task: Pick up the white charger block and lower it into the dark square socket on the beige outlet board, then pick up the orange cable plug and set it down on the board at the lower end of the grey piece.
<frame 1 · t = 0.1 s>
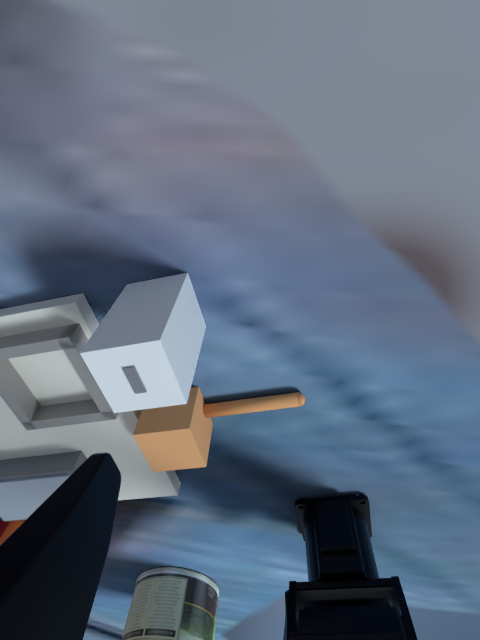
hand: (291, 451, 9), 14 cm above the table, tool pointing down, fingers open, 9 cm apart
paper cup: (12, 525, 40), on the table
coffee can: (177, 584, 46), on the table
grey piece: (46, 478, 33), point 1 cm above the table, touching outlet board
cable plug: (181, 408, 29), on the table
charger: (167, 306, 24), on the table
outlet board: (49, 416, 30), on the table
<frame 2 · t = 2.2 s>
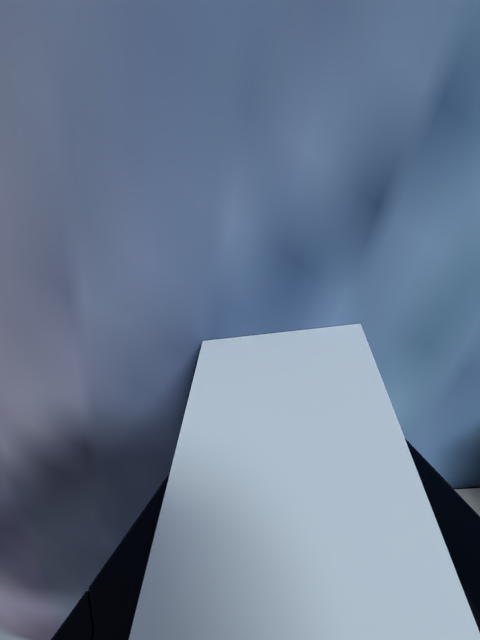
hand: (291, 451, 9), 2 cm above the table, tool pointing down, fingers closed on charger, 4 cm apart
charger: (287, 390, 11), on the table, touching gripper
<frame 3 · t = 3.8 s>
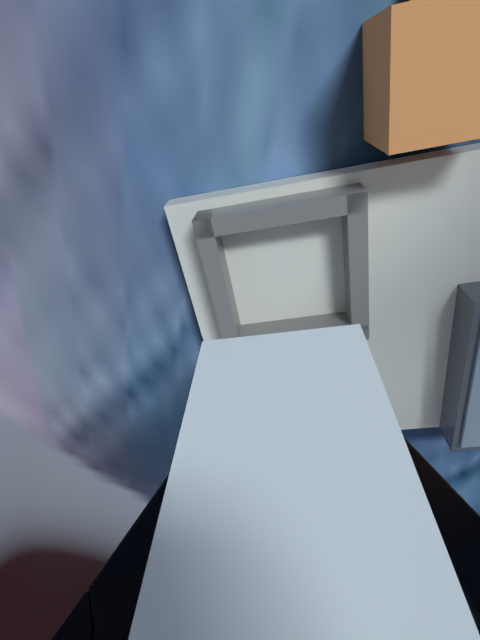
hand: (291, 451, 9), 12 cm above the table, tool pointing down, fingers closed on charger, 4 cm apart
cable plug: (415, 74, 15), on the table
charger: (287, 390, 11), point 10 cm above the table, touching gripper
outlet board: (385, 314, 20), on the table
when the fingers open (4 cm above the table, at t = 5.6 s): charger stays where it is, resting on outlet board.
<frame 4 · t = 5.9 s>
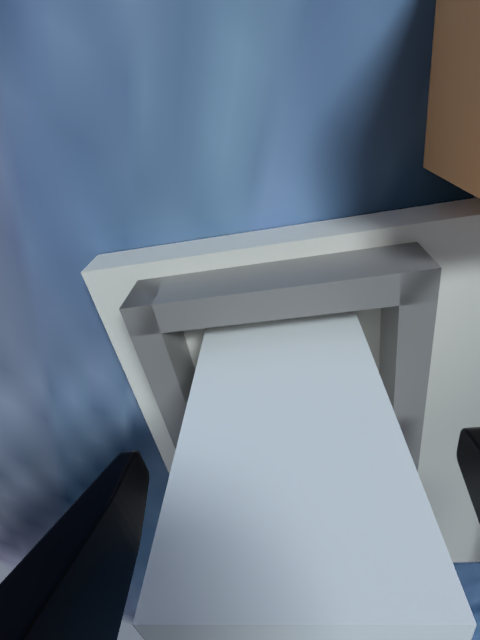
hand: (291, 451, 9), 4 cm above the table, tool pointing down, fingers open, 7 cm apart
charger: (286, 369, 11), point 1 cm above the table, touching outlet board
outlet board: (432, 418, 14), on the table
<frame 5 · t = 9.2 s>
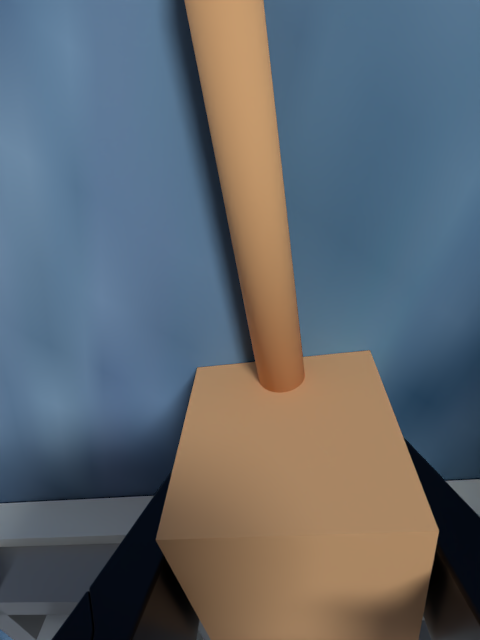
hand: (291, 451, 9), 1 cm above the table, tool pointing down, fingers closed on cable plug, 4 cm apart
cable plug: (289, 419, 10), on the table, touching gripper
charger: (141, 596, 13), point 1 cm above the table, touching outlet board
outlet board: (292, 605, 16), on the table
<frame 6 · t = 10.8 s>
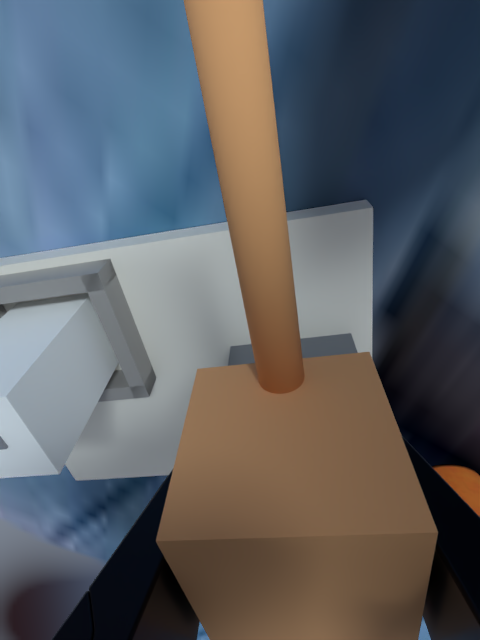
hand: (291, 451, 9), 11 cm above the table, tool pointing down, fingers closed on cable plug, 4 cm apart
paper cup: (439, 486, 26), on the table
grey piece: (298, 411, 21), point 1 cm above the table, touching outlet board
cable plug: (289, 420, 10), point 10 cm above the table, touching gripper
charger: (70, 331, 19), point 1 cm above the table, touching outlet board
outlet board: (187, 367, 22), on the table
when the fingers open (3 cm above the table, at t = 12.5 s): cable plug stays where it is, resting on outlet board.
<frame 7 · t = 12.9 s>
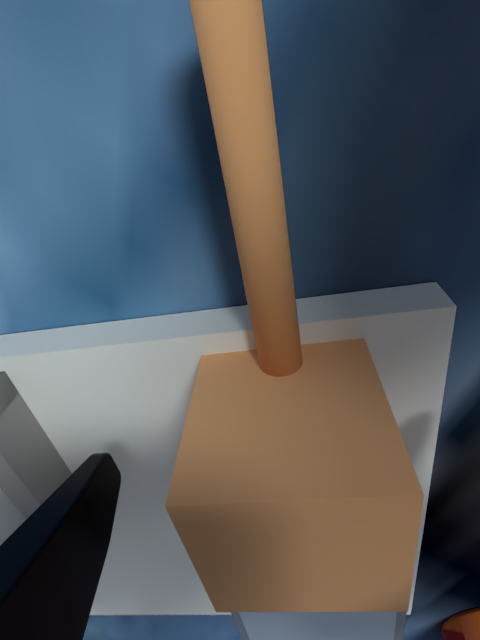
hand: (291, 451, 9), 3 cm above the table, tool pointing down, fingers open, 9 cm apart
grey piece: (311, 560, 15), point 1 cm above the table, touching outlet board
cable plug: (288, 405, 10), point 1 cm above the table, touching outlet board
outlet board: (150, 493, 15), on the table
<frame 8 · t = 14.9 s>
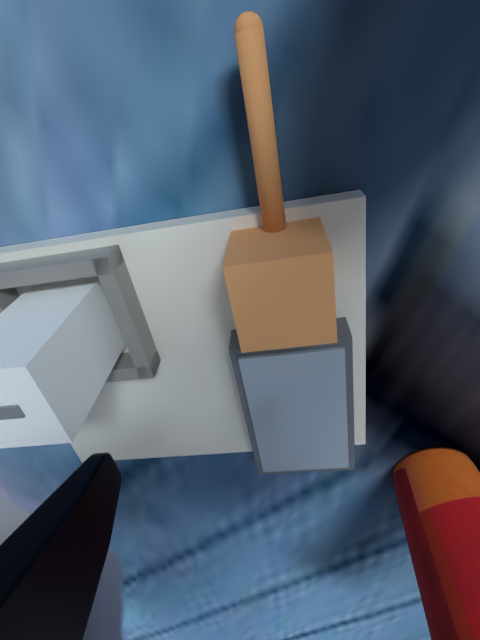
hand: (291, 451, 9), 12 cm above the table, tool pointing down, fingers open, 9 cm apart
paper cup: (431, 469, 27), on the table
grey piece: (296, 393, 22), point 1 cm above the table, touching outlet board
cable plug: (280, 264, 18), point 1 cm above the table, touching outlet board
charger: (80, 315, 20), point 1 cm above the table, touching outlet board
outlet board: (190, 351, 23), on the table
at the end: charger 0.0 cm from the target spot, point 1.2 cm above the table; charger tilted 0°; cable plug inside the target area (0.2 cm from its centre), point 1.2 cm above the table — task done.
